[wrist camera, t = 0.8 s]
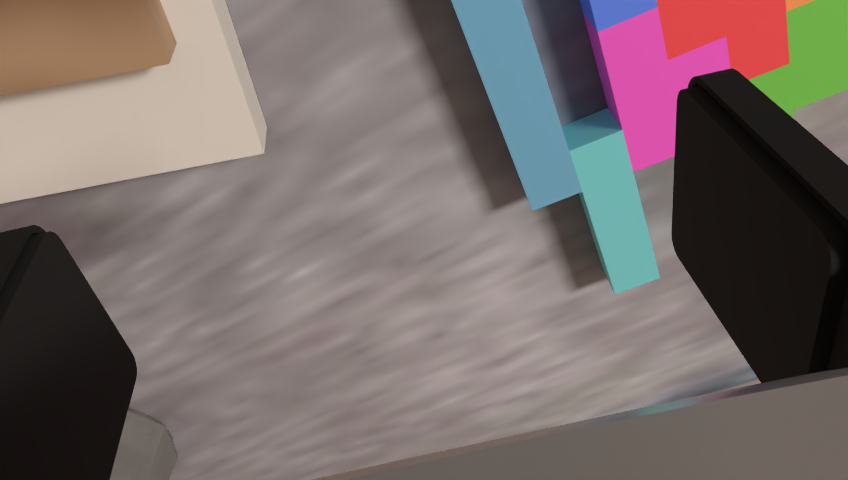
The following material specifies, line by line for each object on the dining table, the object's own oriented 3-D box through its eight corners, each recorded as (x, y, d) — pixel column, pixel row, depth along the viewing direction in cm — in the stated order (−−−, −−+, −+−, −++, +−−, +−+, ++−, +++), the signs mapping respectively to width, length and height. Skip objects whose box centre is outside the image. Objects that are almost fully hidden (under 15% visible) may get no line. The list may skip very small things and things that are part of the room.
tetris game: (379, -185, 29) (558, 279, 46) (384, -173, 26) (570, 310, 44) (1129, -554, 24) (1016, 110, 42) (1208, -574, 22) (1054, 135, 39)
